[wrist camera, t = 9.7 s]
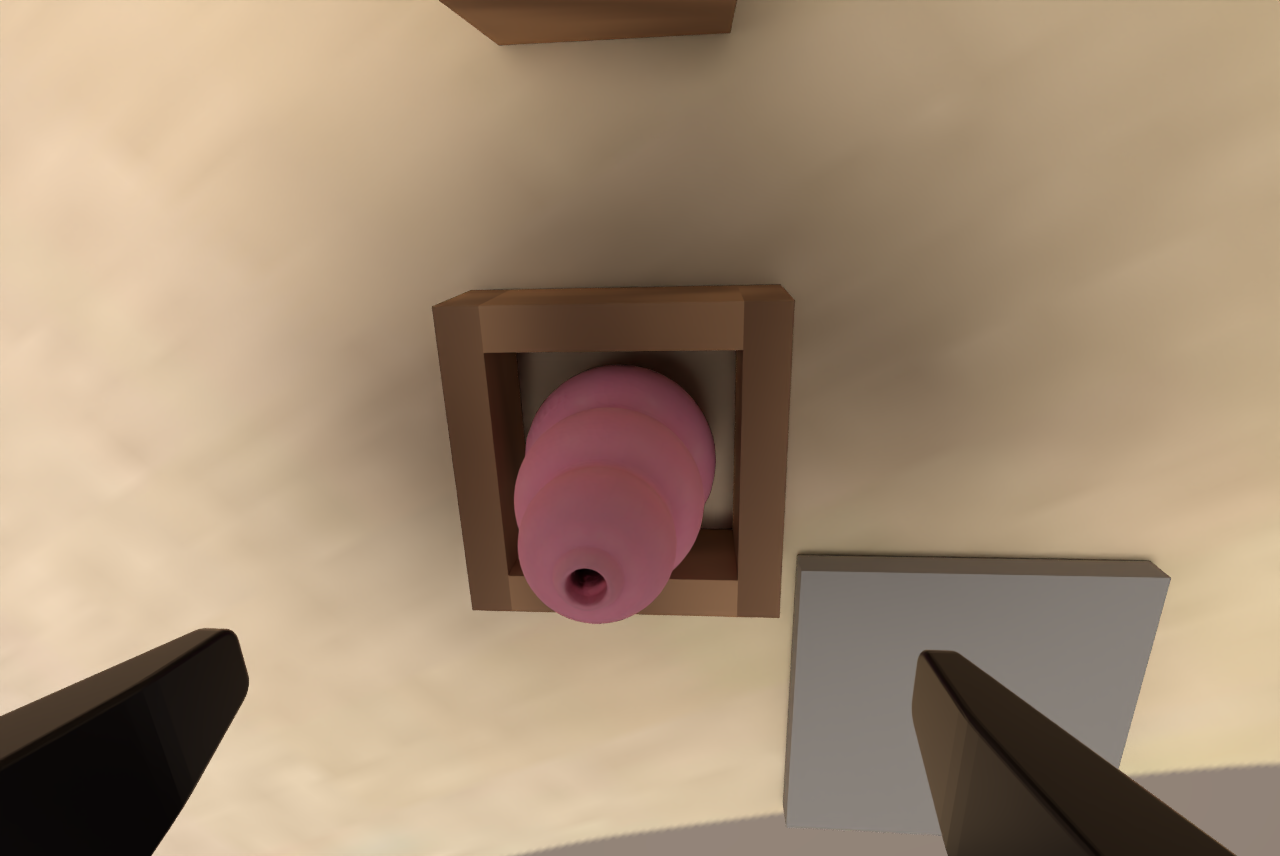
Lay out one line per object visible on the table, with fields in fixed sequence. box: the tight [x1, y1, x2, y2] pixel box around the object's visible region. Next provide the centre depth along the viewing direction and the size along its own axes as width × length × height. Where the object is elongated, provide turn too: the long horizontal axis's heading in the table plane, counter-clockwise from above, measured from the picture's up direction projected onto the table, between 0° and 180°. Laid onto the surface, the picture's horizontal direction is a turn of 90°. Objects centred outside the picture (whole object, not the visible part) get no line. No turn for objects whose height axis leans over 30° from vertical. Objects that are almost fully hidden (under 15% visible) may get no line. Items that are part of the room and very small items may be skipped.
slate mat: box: [783, 555, 1171, 836], centre depth 19 cm, size 9×9×1 cm
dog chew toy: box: [514, 365, 716, 624], centre depth 14 cm, size 4×4×7 cm
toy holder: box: [432, 0, 795, 618], centre depth 11 cm, size 8×24×7 cm, turn 2°
